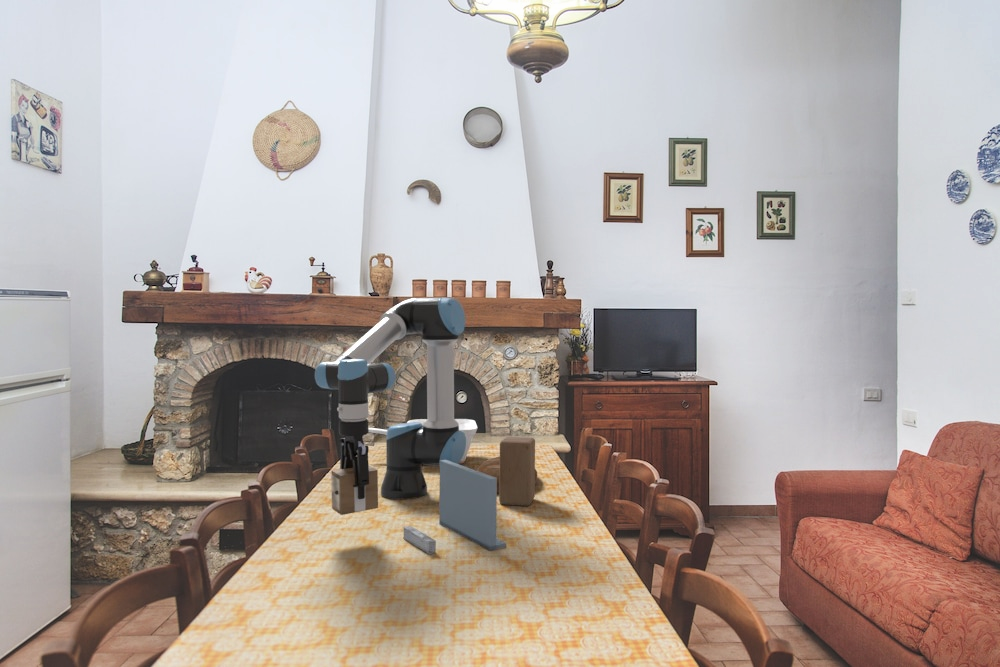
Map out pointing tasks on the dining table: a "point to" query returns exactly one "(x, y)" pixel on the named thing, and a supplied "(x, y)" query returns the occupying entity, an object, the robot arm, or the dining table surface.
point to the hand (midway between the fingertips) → (354, 506)
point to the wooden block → (517, 471)
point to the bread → (494, 469)
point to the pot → (464, 426)
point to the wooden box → (352, 490)
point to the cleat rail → (420, 540)
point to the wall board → (469, 504)
